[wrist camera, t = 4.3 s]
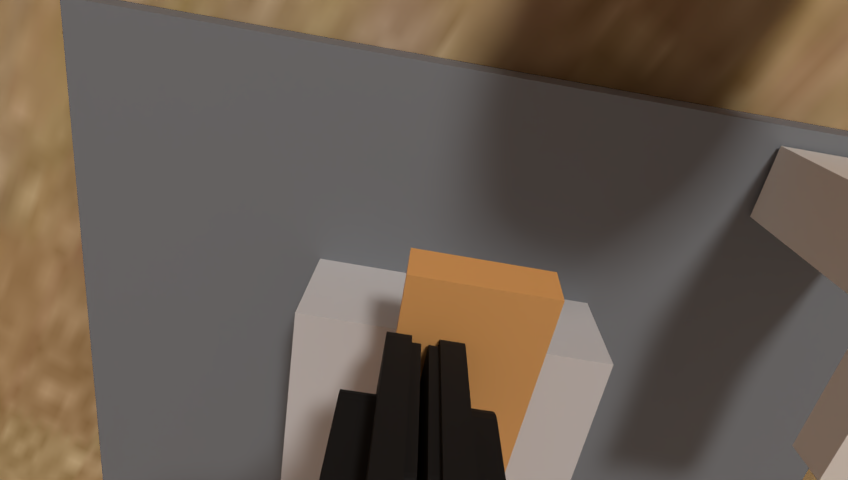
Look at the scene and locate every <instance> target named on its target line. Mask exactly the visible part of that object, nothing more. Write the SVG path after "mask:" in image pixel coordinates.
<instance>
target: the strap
mask: <svg viewBox="0 0 848 480" xmlns="http://www.w3.org/2000/svg"><path fill="white" fill-rule="evenodd" d="M564 302H565V300H564V296H563V292H562V289H561V285H560V281H559V278H558V274H557V272H553V271H547V270H541V269H535V268H529V267H523V266H517V265H511V264H505V263H499V262H493V261H487V260H481V259H475V258H469V257H464V256H458V255H452V254H446V253H440V252H434V251H428V250H422V249H416V248H411V250H410V255H409V261H408V267H407V272H406V278H405V284H404V289H403V295H402V301H401V306H400V312H399V318H398V324H397V329H396V333H401V334H407V335H412V342H413V343H420V344H421V370H420V380H421V376H422V371H423V366H424V361H425V357H426V352H427V348H428V345H433V346H438V344H439V340H446V341H452V342H459V343H465V345H466V355H467V366H468V377H469V388H470V399H471V408H473V409H480V410H486V411H493V412H495V414H496V417H497V422H498V429H499V435H500V442H501V449H502V456H503V463H504V469H505V471H506V468H507V465H508V462H509V460H510V457H511V454H512V451H513V448H514V445H515V442H516V440H517V437H518V434H519V431H520V428H521V425H522V422H523V419H524V417H525V414H526V411H527V408H528V405H529V402H530V399H531V397H532V394H533V391H534V388H535V385H536V382H537V379H538V376H539V374H540V371H541V368H542V365H543V362H544V359H545V356H546V353H547V351H548V348H549V345H550V342H551V339H552V336H553V333H554V331H555V328H556V325H557V322H558V319H559V316H560V313H561V310H562V308H563V305H564Z"/></svg>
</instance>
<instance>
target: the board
mask: <svg viewBox="0 0 848 480" xmlns="http://www.w3.org/2000/svg"><path fill="white" fill-rule="evenodd" d="M60 5H61V16H62V27H63V38H64V50H65V61H66V72H67V83H68V94H69V105H70V117H71V128H72V139H73V150H74V161H75V172H76V184H77V195H78V206H79V217H80V228H81V239H82V251H83V262H84V273H85V284H86V295H87V306H88V317H89V329H90V340H91V351H92V362H93V373H94V384H95V396H96V407H97V418H98V429H99V440H100V451H101V463H102V474H103V480H319V478H320V473H321V469H322V464H323V460H324V456H325V451H326V447H327V442H328V438H329V434H330V429H331V425H332V421H333V416H334V412H335V407H336V403H337V399H338V394H339V391H340V389H344V390H351V391H358V392H364V393H371V394H376V390H377V384H378V378H379V373H380V367H381V361H382V355H383V349H384V344H385V338H386V333H387V331H388V332H394V333H396V329H397V324H398V318H399V312H400V306H401V301H402V295H403V289H404V284H405V278H406V272H407V267H408V261H409V255H410V250H411V248H416V249H422V250H428V251H434V252H440V253H446V254H452V255H458V256H464V257H469V258H475V259H481V260H487V261H493V262H499V263H505V264H511V265H517V266H523V267H529V268H535V269H541V270H547V271H553V272H557V274H558V278H559V281H560V285H561V289H562V292H563V296H564V300H565V302H564V305H563V308H562V310H561V313H560V316H559V319H558V322H557V325H556V328H555V331H554V333H553V336H552V339H551V342H550V345H549V348H548V351H547V353H546V356H545V359H544V362H543V365H542V368H541V371H540V374H539V376H538V379H537V382H536V385H535V388H534V391H533V394H532V397H531V399H530V402H529V405H528V408H527V411H526V414H525V417H524V419H523V422H522V425H521V428H520V431H519V434H518V437H517V440H516V442H515V445H514V448H513V451H512V454H511V457H510V460H509V462H508V465H507V468H506V471H505V476H506V480H802V479H803V477H804V476H805V474H806V472H807V471H808V469H809V468H808V466H807V465H806V464H805V462H804V461H803V460H802V458H801V457H800V455H799V454H798V453H797V451H796V450H795V449H794V447H793V446H792V445H793V443H794V442H795V440H796V438H797V436H798V435H799V433H800V431H801V429H802V428H803V426H804V424H805V422H806V421H807V419H808V417H809V415H810V414H811V412H812V410H813V408H814V407H815V405H816V403H817V401H818V400H819V398H820V396H821V394H822V393H823V391H824V389H825V387H826V386H827V384H828V382H829V380H830V379H831V377H832V375H833V373H834V372H835V370H836V368H837V366H838V365H839V363H840V361H841V359H842V358H843V356H844V354H845V352H846V351H847V349H848V294H847V293H846V292H845V291H843V290H842V289H841V288H839V287H838V286H837V285H836V284H834V283H833V282H832V281H831V280H829V279H828V278H827V277H826V276H824V275H823V274H822V273H821V272H819V271H818V270H817V269H816V268H814V267H813V266H812V265H810V264H809V263H808V262H807V261H805V260H804V259H803V258H802V257H800V256H799V255H798V254H797V253H795V252H794V251H793V250H792V249H790V248H789V247H788V246H786V245H785V244H784V243H783V242H781V241H780V240H779V239H778V238H776V237H775V236H774V235H773V234H771V233H770V232H769V231H768V230H766V229H765V228H764V227H762V226H761V225H760V224H759V223H757V222H756V221H755V220H754V219H752V218H751V217H750V216H751V213H752V211H753V209H754V206H755V204H756V202H757V200H758V197H759V195H760V193H761V190H762V188H763V186H764V183H765V181H766V179H767V177H768V174H769V172H770V170H771V167H772V165H773V163H774V161H775V158H776V156H777V154H778V151H779V149H780V147H781V146H785V147H790V148H796V149H802V150H807V151H813V152H818V153H824V154H830V155H835V156H841V157H847V158H848V131H846V130H840V129H835V128H829V127H823V126H818V125H812V124H807V123H801V122H796V121H790V120H784V119H779V118H773V117H768V116H762V115H757V114H751V113H745V112H740V111H734V110H729V109H723V108H717V107H712V106H706V105H701V104H695V103H690V102H684V101H678V100H673V99H667V98H662V97H656V96H651V95H645V94H639V93H634V92H628V91H623V90H617V89H611V88H606V87H600V86H595V85H589V84H584V83H578V82H572V81H567V80H561V79H556V78H550V77H544V76H539V75H533V74H528V73H522V72H517V71H511V70H505V69H500V68H494V67H489V66H483V65H478V64H472V63H466V62H461V61H455V60H450V59H444V58H438V57H433V56H427V55H422V54H416V53H411V52H405V51H399V50H394V49H388V48H383V47H377V46H372V45H366V44H360V43H355V42H349V41H344V40H338V39H332V38H327V37H321V36H316V35H310V34H305V33H299V32H293V31H288V30H282V29H277V28H271V27H266V26H260V25H254V24H249V23H243V22H238V21H232V20H226V19H221V18H215V17H210V16H204V15H199V14H193V13H187V12H182V11H176V10H171V9H165V8H159V7H154V6H148V5H143V4H137V3H132V2H126V1H120V0H60Z"/></svg>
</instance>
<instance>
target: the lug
mask: <svg viewBox="0 0 848 480" xmlns="http://www.w3.org/2000/svg"><path fill="white" fill-rule="evenodd" d="M750 217H751V218H752V219H754V220H755V221H756V222H757V223H759V224H760V225H761V226H762V227H764V228H765V229H766V230H768V231H769V232H770V233H771V234H773V235H774V236H775V237H776V238H778V239H779V240H780V241H781V242H783V243H784V244H785V245H786V246H788V247H789V248H790V249H792V250H793V251H794V252H795V253H797V254H798V255H799V256H800V257H802V258H803V259H804V260H805V261H807V262H808V263H809V264H810V265H812V266H813V267H814V268H816V269H817V270H818V271H819V272H821V273H822V274H823V275H824V276H826V277H827V278H828V279H829V280H831V281H832V282H833V283H834V284H836V285H837V286H838V287H839V288H841V289H842V290H843V291H845V292H846V293H847V294H848V158H847V157H841V156H835V155H830V154H824V153H818V152H813V151H807V150H802V149H796V148H790V147H785V146H781V147H780V149H779V151H778V154H777V156H776V158H775V161H774V163H773V165H772V167H771V170H770V172H769V174H768V177H767V179H766V181H765V183H764V186H763V188H762V190H761V193H760V195H759V197H758V200H757V202H756V204H755V206H754V209H753V211H752V213H751V216H750ZM792 446H793V447H794V449H795V450H796V451H797V453H798V454H799V455H800V457H801V458H802V460H803V461H804V462H805V464H806V465H807V466H808V468H809V469H810V470H811V472H812V473H813V475H814V476H815V477H816V479H817V480H848V349H847V351H846V352H845V354H844V356H843V358H842V359H841V361H840V363H839V365H838V366H837V368H836V370H835V372H834V373H833V375H832V377H831V379H830V380H829V382H828V384H827V386H826V387H825V389H824V391H823V393H822V394H821V396H820V398H819V400H818V401H817V403H816V405H815V407H814V408H813V410H812V412H811V414H810V415H809V417H808V419H807V421H806V422H805V424H804V426H803V428H802V429H801V431H800V433H799V435H798V436H797V438H796V440H795V442H794V443H793V445H792Z"/></svg>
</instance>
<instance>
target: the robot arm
mask: <svg viewBox="0 0 848 480" xmlns="http://www.w3.org/2000/svg"><path fill="white" fill-rule="evenodd" d="M420 370H421V344H420V343H413V342H412V335H407V334H401V333H394V332H388V331H387V333H386V338H385V344H384V349H383V355H382V361H381V367H380V373H379V378H378V384H377V390H376V394H371V393H364V392H358V391H351V390H344V389H340V391H339V394H338V399H337V403H336V407H335V412H334V416H333V421H332V425H331V429H330V434H329V438H328V442H327V447H326V451H325V456H324V460H323V464H322V469H321V473H320V478H319V480H506V476H505V469H504V463H503V456H502V449H501V442H500V435H499V429H498V422H497V417H496V414H495V412H493V411H486V410H480V409H473V408H471V399H470V388H469V377H468V366H467V355H466V345H465V343H459V342H452V341H446V340H439V344H438V346H433V345H428V348H427V352H426V357H425V361H424V366H423V371H422V376H421V380H420Z"/></svg>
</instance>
